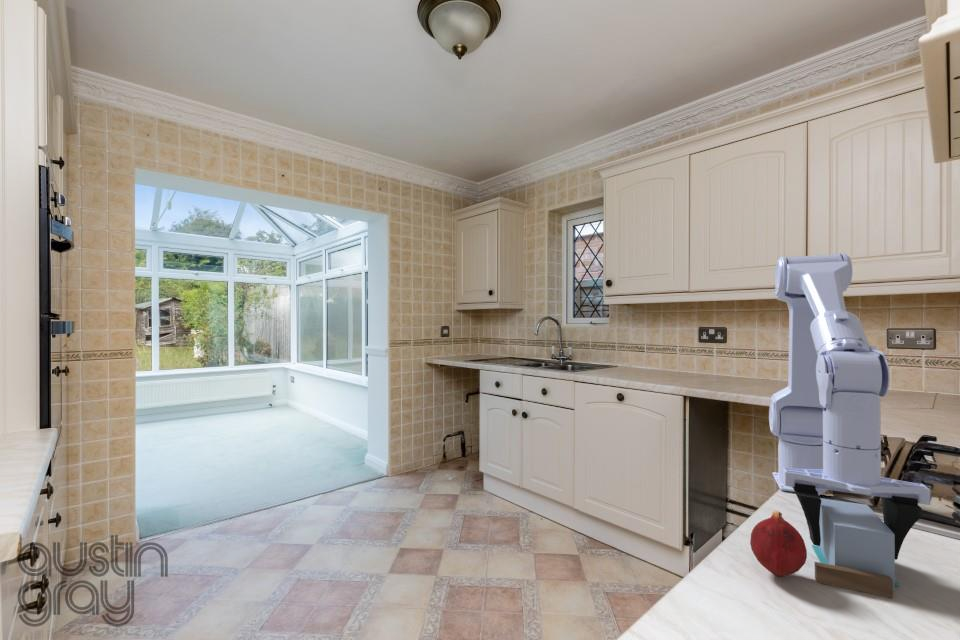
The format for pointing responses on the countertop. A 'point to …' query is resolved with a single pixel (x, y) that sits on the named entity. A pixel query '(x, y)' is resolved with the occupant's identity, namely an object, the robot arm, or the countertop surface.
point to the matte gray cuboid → (856, 538)
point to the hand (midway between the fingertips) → (851, 548)
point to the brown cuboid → (854, 579)
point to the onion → (778, 546)
